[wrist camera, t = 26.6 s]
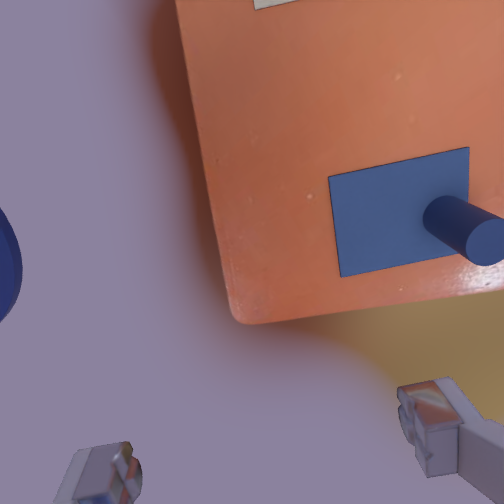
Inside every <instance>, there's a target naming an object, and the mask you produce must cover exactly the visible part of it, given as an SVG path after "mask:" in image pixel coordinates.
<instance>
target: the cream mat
mask: <svg viewBox="0 0 504 504" xmlns="http://www.w3.org/2000/svg"><path fill="white" fill-rule="evenodd" d="M293 1H298V0H253V2H254V8H255V10H258V9H263V8H267V7H271V6H276V5H280V4H285V3H289V2H293Z"/></svg>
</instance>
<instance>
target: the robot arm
mask: <svg viewBox="0 0 504 504" xmlns="http://www.w3.org/2000/svg"><path fill="white" fill-rule="evenodd" d="M397 398H398V399H399V401H400V403H401V405H400V406H399V408H398V413H399V419H400V423H401V427H402V430H403V432H404V435H405V437H406V438H407V440H408V442H409V443H410V444H412V445H413V446H415V456H416V458H417V460H418V462H419V464H420V466H421V468H422V470H423V471H424V473H425V475H426V477H427V478H430V477H436V476H443V475H449V474H455V473H458V475H459V476H461V477H462V478H463V479H465V480H466V481H467V482H468V483H470V484H471V485H472V486H474V487H475V488H476V489H478V490H479V491H480V492H481V493H483V494H484V495H485V496H486V497H488V498H489V499H490V500H492V501H493V502H494V503H495V504H504V426H503V425H501V424H499V423H497V422H495V421H493V420H491V419H486V420H485V419H484V418H483V417H482V416H481V414H480V413H479V412H478V411H477V409H476V408H475V407H474V405H473V404H472V403H471V402H470V400H469V399H468V398H467V397H466V395H465V394H464V393H463V392H462V390H461V389H460V388H459V387H458V385H457V384H456V383H455V382H454V380H453V379H452V378H450V377H444V378H439V379H434V380H431V381H430V380H429V381H424V382H420V383H415V384H410V385H405V386H400V387H398V388H397ZM132 452H133V448H132V446H131V444H130V442H126V441H125V442H119V443H113V444H107V445H102V446H96V447H92V448H86V449H80V450H78V451H77V452H76V453H75V454H74V456H73V458H72V460H71V462H70V465H69V467H68V469H67V471H66V474H65V476H64V479H63V481H62V483H61V485H60V487H59V490H58V492H57V495H56V497H55V499H54V501H53V504H133V503H134V501H135V500H136V499H137V498H138V496H139V495H140V492H141V487H142V469H141V465H140V463H139V461H138V459H136V458H134V457H133V456H132Z"/></svg>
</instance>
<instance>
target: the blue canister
mask: <svg viewBox="0 0 504 504" xmlns="http://www.w3.org/2000/svg"><path fill="white" fill-rule="evenodd" d="M423 224H424V227H425V229H426V230H427V231H428V232H429V233H431V234H432V235H433V236H435V237H436V238H438V239H439V240H441V241H442V242H443V243H445V244H446V245H448V246H449V247H451V248H452V249H454V250H455V251H456V252H458V253H459V254H461V255H462V256H464V257H465V258H466V259H468V260H469V261H471V262H472V263H474V264H476V265H480V266H489V265H493V264H496V263H498V262H500V261H501V260H503V259H504V219H503V218H500V217H498V216H496V215H494V214H492V213H489V212H487V211H485V210H483V209H481V208H478V207H476V206H474V205H472V204H470V203H468V202H465V201H463V200H461V199H459V198H457V197H454V196H449V195H446V196H441V197H439V198H437V199H435V200H433V201H432V202H431V203H430V204H429V205H428V206H427V208H426V209H425V212H424V214H423Z"/></svg>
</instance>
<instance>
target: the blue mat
mask: <svg viewBox="0 0 504 504" xmlns="http://www.w3.org/2000/svg"><path fill="white" fill-rule="evenodd" d="M328 180H329V188H330V196H331V204H332V212H333V220H334V228H335V236H336V244H337V252H338V260H339V268H340V276H341V278H342V277H347V276H352V275H357V274H361V273H366V272H371V271H376V270H381V269H386V268H390V267H395V266H400V265H405V264H410V263H415V262H420V261H424V260H429V259H434V258H439V257H444V256H449V255H453V254H458V252H456V251H455V250H454V249H452V248H451V247H449V246H448V245H446V244H445V243H443V242H442V241H441V240H439V239H438V238H436V237H435V236H433V235H432V234H431V233H429V232H428V231H427V230H426V229H425V227H424V224H423V214H424V212H425V209H426V208H427V206H428V205H429V204H430V203H431V202H432V201H433V200H435V199H437V198H439V197H441V196H446V195H449V196H454V197H457V198H459V199H461V200H463V201H465V202H468V186H469V147H465V148H460V149H456V150H451V151H446V152H442V153H437V154H432V155H428V156H423V157H418V158H414V159H409V160H404V161H400V162H395V163H391V164H386V165H381V166H377V167H372V168H367V169H363V170H358V171H353V172H349V173H344V174H339V175H335V176H330V177H328Z"/></svg>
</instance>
